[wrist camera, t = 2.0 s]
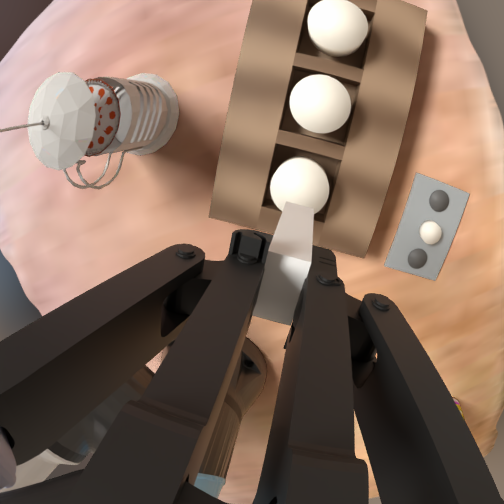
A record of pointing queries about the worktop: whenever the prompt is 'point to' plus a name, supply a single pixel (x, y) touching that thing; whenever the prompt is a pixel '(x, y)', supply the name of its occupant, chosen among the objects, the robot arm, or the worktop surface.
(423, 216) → the card
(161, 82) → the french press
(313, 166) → the button
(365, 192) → the board
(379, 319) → the robot arm
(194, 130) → the worktop surface
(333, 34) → the button
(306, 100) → the button
